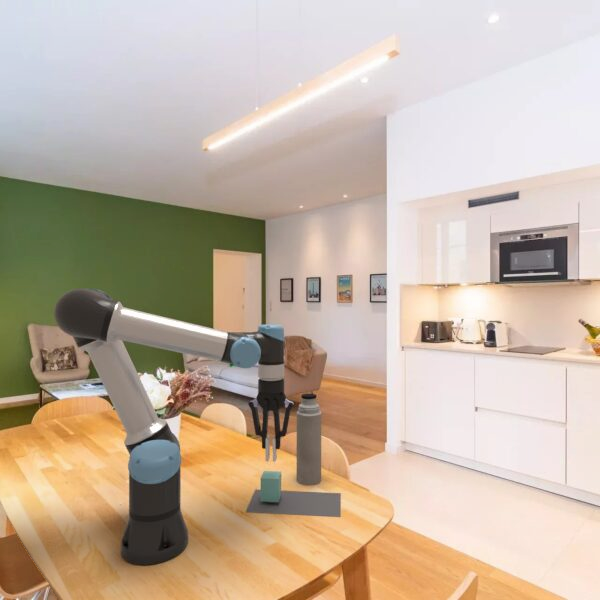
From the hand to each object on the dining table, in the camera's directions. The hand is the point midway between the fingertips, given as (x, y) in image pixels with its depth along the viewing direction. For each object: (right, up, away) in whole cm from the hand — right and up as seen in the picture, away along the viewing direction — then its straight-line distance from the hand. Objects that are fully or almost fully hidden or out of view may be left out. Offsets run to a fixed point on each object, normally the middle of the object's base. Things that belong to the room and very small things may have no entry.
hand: (271, 459), depth 124 cm
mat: (+7, -12, -1) cm, 14 cm away
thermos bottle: (+11, -13, +14) cm, 22 cm away
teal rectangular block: (0, -11, 0) cm, 11 cm away
